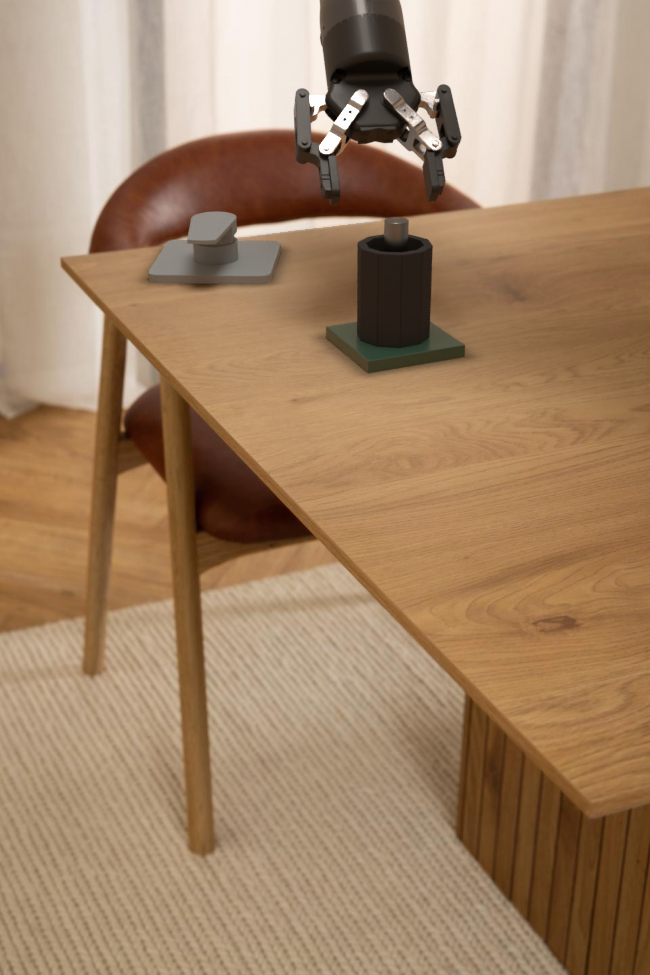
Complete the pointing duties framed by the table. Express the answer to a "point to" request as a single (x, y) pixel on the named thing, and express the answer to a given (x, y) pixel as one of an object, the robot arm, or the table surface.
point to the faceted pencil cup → (394, 292)
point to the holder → (391, 357)
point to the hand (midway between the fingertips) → (385, 198)
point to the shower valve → (215, 255)
